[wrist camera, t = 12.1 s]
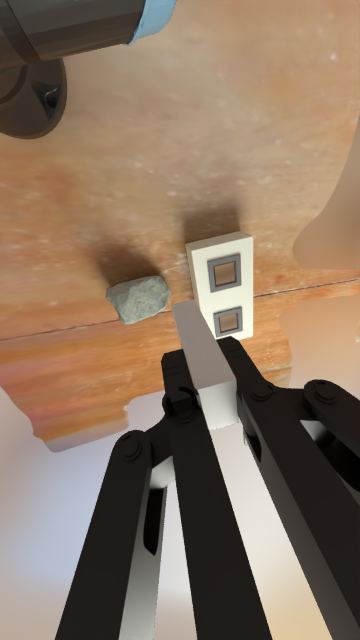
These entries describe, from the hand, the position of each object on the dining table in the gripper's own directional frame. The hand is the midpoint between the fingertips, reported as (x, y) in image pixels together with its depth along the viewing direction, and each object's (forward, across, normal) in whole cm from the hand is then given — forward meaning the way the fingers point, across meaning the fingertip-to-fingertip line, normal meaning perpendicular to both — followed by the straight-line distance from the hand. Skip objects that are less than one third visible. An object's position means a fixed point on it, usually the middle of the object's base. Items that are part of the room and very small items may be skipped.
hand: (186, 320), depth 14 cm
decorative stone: (+35, -6, -12) cm, 37 cm away
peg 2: (+34, +12, -22) cm, 42 cm away
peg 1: (+34, +12, -10) cm, 38 cm away
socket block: (+34, +12, -16) cm, 40 cm away
